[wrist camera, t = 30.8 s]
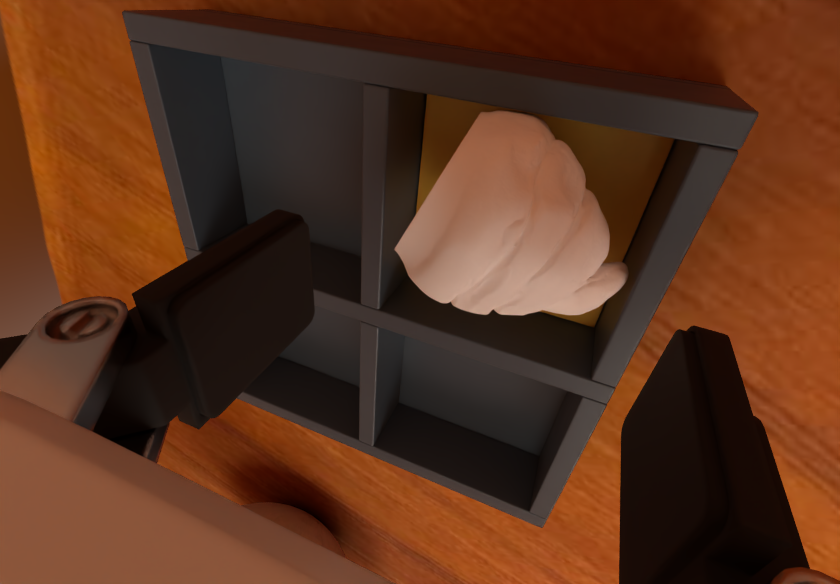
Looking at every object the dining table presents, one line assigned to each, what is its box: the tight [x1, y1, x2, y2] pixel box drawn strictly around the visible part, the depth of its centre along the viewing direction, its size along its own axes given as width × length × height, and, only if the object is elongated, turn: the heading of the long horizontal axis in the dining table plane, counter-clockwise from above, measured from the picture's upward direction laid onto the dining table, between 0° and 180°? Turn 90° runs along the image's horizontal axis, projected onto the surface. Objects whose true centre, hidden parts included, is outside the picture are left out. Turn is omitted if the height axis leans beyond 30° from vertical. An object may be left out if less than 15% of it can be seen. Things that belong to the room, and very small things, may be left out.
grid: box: [122, 10, 758, 528], centre depth 17 cm, size 17×17×4 cm
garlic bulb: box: [394, 110, 629, 315], centre depth 12 cm, size 6×6×5 cm
